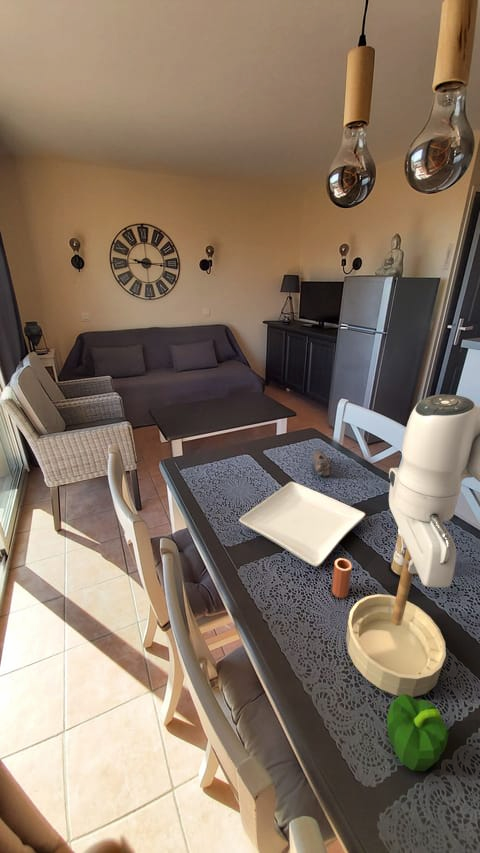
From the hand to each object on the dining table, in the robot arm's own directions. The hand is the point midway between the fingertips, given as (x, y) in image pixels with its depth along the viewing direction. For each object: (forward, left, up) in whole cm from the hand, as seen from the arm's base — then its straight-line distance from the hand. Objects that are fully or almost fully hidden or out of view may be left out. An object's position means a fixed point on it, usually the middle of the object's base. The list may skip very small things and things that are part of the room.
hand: (409, 563), depth 62 cm
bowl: (0, 0, -23) cm, 23 cm away
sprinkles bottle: (-8, -22, -24) cm, 33 cm away
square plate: (+16, -37, -24) cm, 47 cm away
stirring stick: (0, 0, -15) cm, 15 cm away
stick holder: (+8, -14, -23) cm, 28 cm away
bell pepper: (+1, +16, -24) cm, 29 cm away
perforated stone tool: (+8, -70, -24) cm, 74 cm away
